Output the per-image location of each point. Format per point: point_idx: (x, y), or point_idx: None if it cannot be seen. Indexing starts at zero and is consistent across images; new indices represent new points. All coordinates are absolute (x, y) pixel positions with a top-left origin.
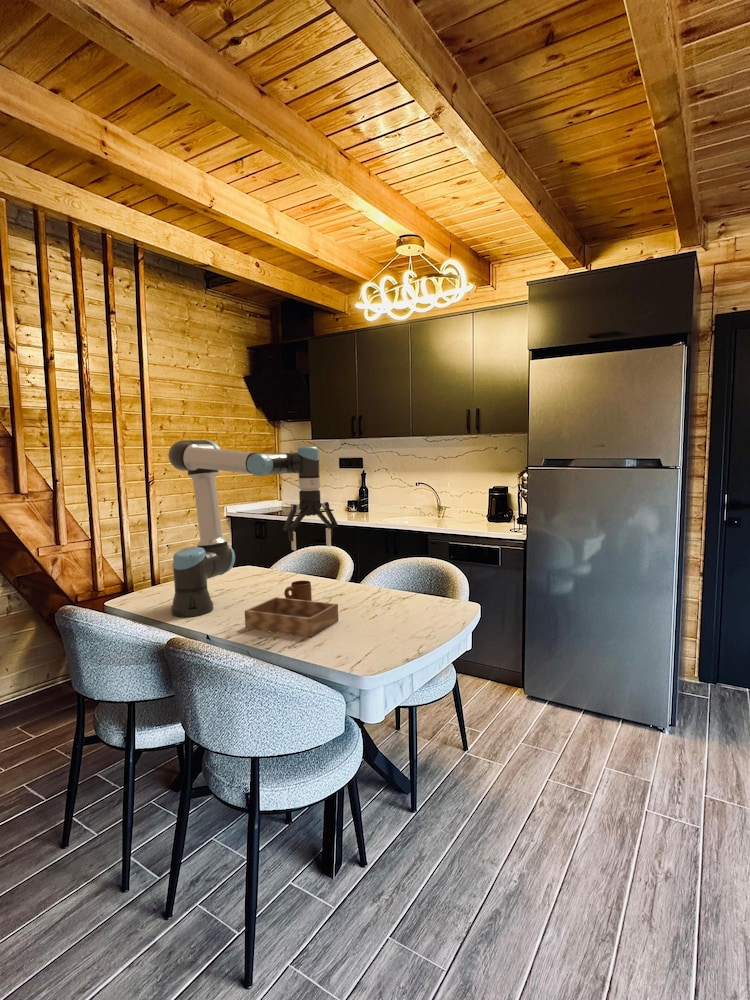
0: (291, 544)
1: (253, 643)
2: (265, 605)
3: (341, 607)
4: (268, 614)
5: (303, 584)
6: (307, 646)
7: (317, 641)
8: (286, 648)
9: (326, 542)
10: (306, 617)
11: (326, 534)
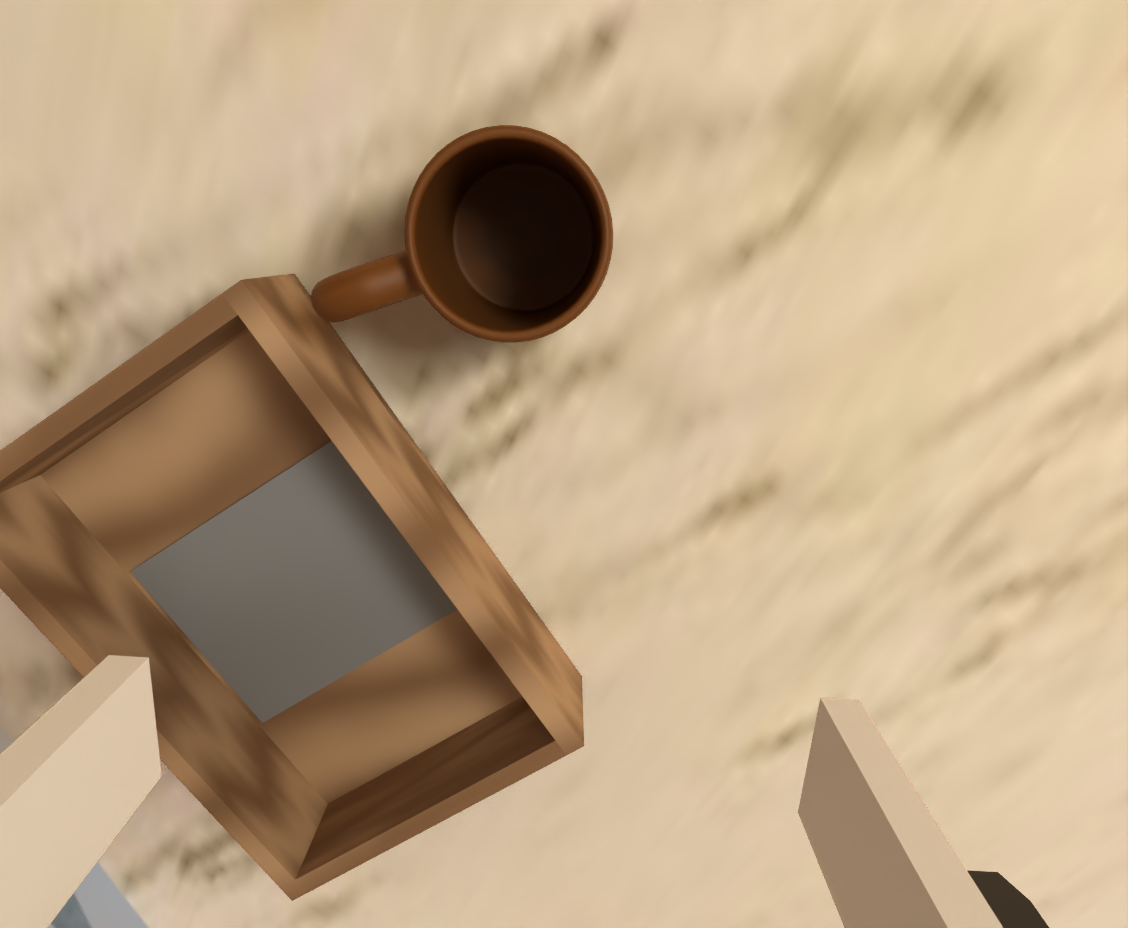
0: (43, 720)
1: (27, 724)
2: (125, 398)
3: (754, 446)
4: (79, 669)
5: (570, 165)
6: (268, 896)
7: None
8: (169, 866)
9: (840, 746)
10: (418, 557)
11: (913, 903)
